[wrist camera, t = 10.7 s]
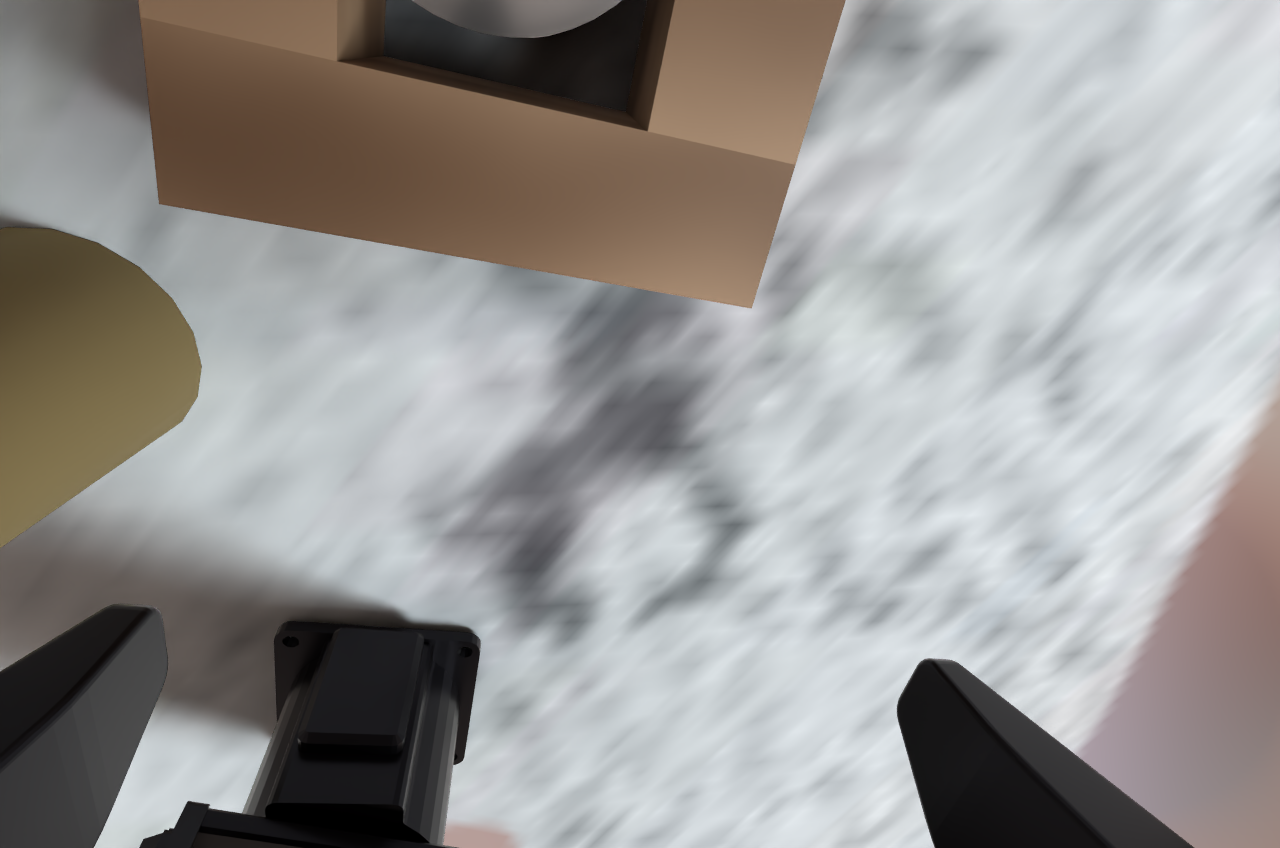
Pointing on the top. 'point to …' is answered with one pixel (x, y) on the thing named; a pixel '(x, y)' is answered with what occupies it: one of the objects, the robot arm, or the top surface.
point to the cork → (81, 369)
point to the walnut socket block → (493, 138)
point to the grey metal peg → (518, 15)
